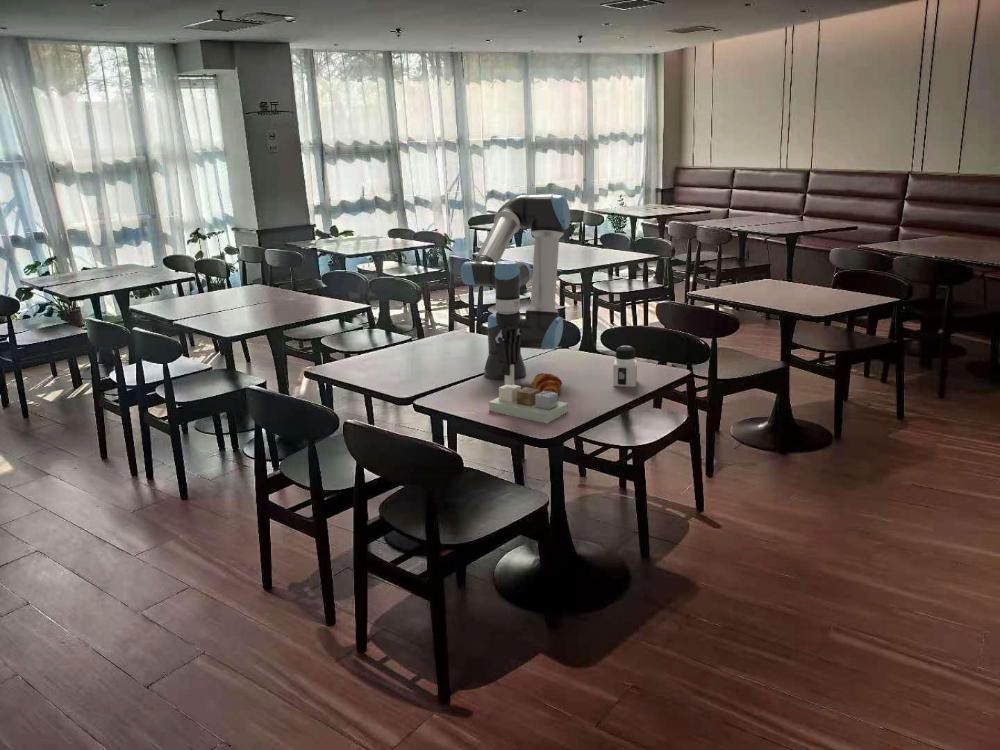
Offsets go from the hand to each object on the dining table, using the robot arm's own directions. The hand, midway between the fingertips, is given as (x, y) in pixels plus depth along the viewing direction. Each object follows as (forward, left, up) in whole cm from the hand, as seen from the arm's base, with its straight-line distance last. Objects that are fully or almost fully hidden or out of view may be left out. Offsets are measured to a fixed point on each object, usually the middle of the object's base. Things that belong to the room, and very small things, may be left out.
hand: (509, 384), depth 257 cm
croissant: (+1, +21, -8) cm, 22 cm away
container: (+19, +42, -8) cm, 47 cm away
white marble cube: (+14, 0, -6) cm, 15 cm away
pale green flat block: (+7, 0, -8) cm, 11 cm away
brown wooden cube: (+7, 0, -6) cm, 9 cm away
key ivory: (0, 0, -6) cm, 6 cm away
